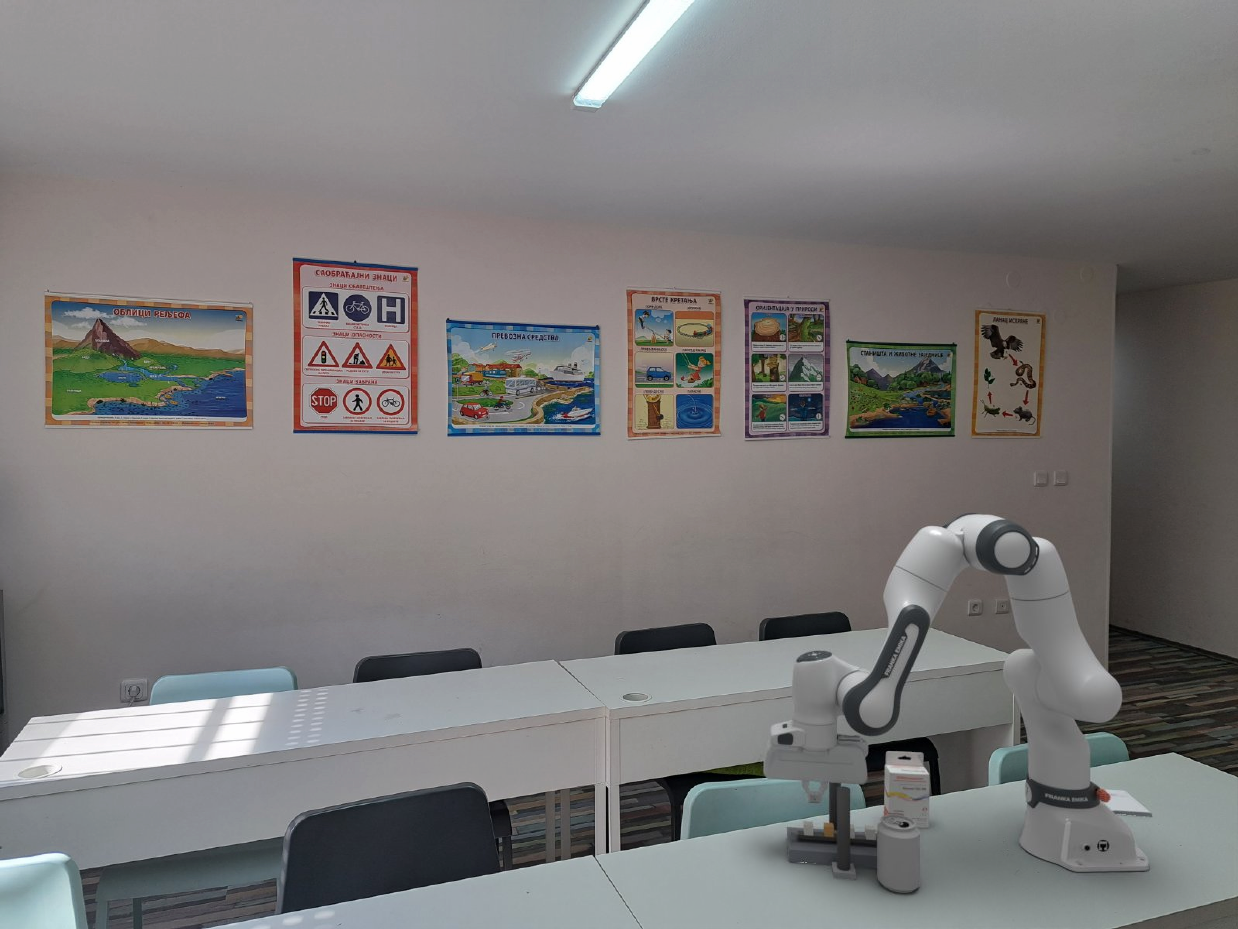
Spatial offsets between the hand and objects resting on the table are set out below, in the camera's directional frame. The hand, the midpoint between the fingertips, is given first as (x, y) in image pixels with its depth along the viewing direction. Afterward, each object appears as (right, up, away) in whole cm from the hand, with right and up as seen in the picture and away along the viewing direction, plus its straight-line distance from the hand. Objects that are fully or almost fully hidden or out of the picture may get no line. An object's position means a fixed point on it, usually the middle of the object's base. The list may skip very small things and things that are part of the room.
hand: (814, 802), depth 164 cm
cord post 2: (+3, -10, -9) cm, 14 cm away
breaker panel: (+5, -10, -1) cm, 11 cm away
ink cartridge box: (+23, -10, +13) cm, 29 cm away
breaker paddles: (+5, -7, -1) cm, 8 cm away
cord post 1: (+6, -10, +7) cm, 14 cm away
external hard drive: (+75, -11, +23) cm, 79 cm away
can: (+12, -10, -13) cm, 20 cm away
